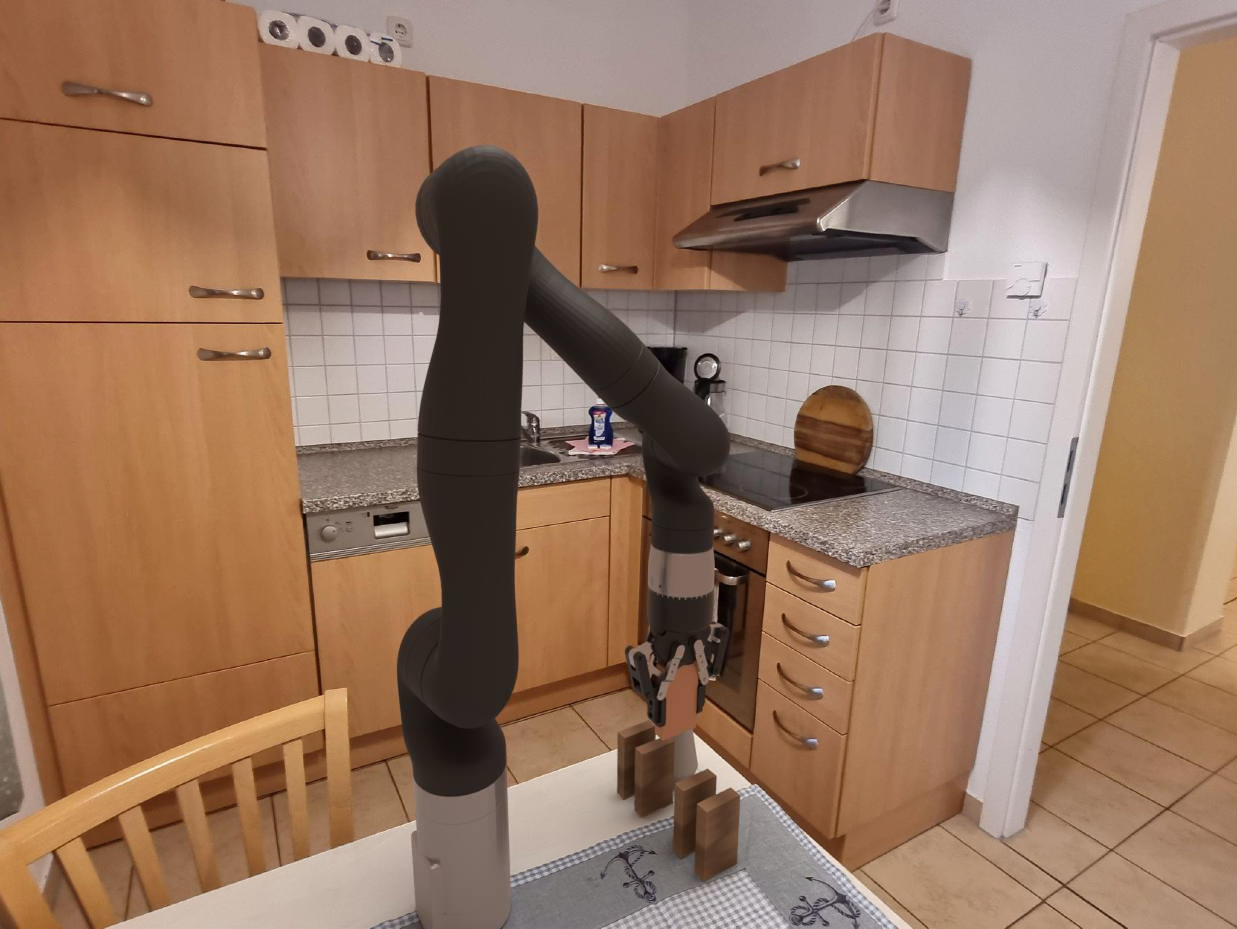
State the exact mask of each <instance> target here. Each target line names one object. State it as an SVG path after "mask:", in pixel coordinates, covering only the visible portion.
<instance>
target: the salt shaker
mask: <svg viewBox="0 0 1237 929" xmlns="http://www.w3.org/2000/svg"><path fill="white" fill-rule="evenodd" d="M671 739H672V740H674V741H675V747H674V785H673V788H675V783H677V782H679V781H681V780H683V779H686V778H688V777H690V776H692V775H695V774H696V772H697V770H698V766H699V764H698V763H699V762H698V756H697V751H696V750H697V749H696V742H695V737H694V730H693V729H691V730H689V731H686V732H683V733H681V734H678V735H676V736H673V737H671Z"/></svg>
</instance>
